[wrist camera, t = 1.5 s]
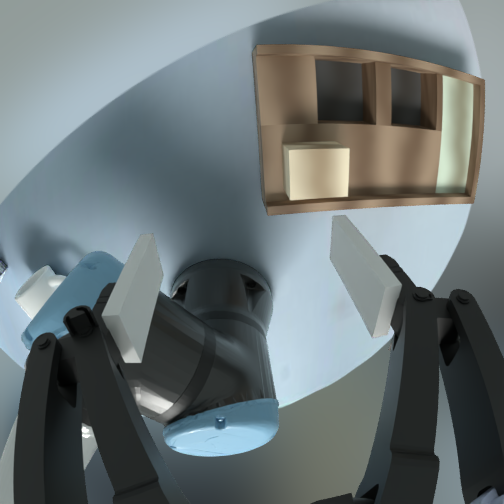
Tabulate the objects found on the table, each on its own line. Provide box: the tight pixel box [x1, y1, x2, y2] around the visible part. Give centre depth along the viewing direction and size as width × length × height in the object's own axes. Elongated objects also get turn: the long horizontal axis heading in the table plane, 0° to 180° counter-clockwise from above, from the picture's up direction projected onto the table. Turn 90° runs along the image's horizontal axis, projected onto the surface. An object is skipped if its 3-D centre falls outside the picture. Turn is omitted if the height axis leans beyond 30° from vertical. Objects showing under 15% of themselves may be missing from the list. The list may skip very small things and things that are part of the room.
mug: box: [15, 265, 66, 320], centre depth 37 cm, size 12×10×8 cm
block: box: [281, 142, 350, 200], centre depth 29 cm, size 6×5×4 cm
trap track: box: [252, 44, 485, 216], centre depth 30 cm, size 30×18×6 cm, turn 94°
